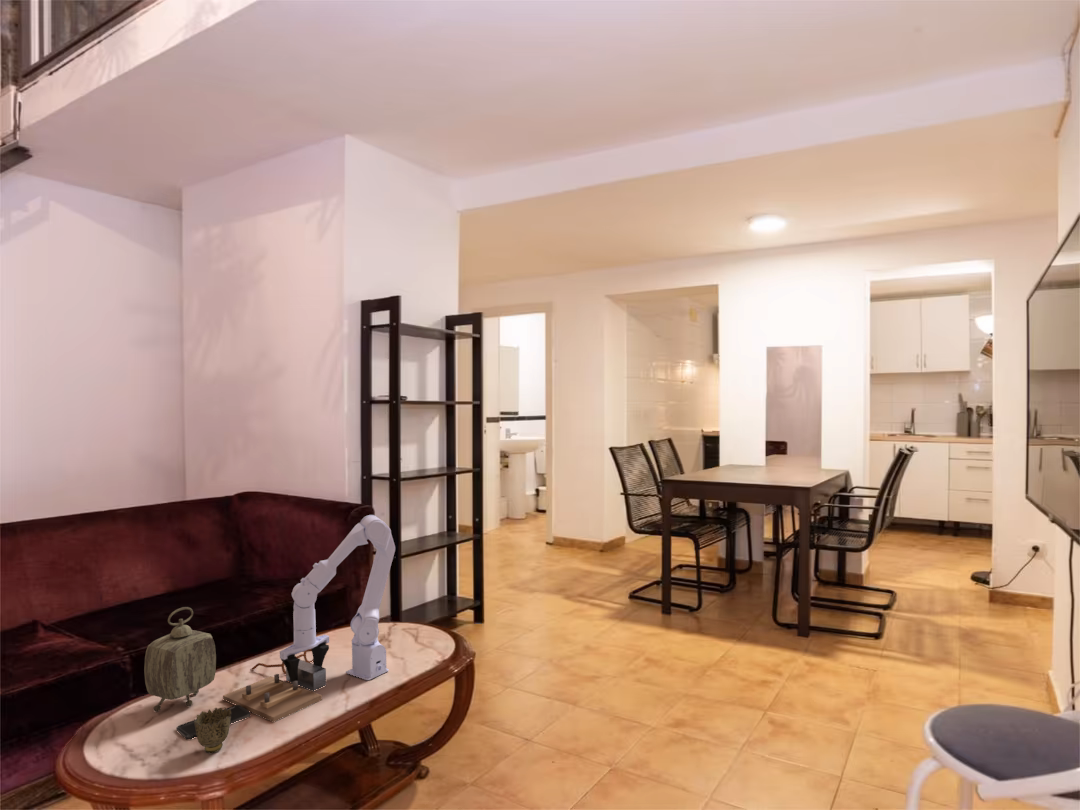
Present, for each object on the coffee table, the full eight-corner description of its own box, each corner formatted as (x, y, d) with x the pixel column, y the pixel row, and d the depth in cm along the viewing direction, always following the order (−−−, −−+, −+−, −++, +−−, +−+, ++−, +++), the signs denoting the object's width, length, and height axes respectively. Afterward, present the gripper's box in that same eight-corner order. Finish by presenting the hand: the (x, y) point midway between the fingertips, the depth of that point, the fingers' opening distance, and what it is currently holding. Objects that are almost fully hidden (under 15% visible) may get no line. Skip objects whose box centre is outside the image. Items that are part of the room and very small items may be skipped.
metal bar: (326, 686, 181) (325, 668, 181) (313, 692, 178) (313, 673, 178) (298, 676, 188) (298, 659, 188) (286, 682, 184) (285, 664, 184)
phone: (174, 726, 158) (238, 704, 169) (175, 731, 158) (238, 708, 169) (187, 737, 153) (252, 713, 164) (187, 742, 153) (252, 717, 164)
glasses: (284, 678, 187) (283, 660, 187) (250, 671, 193) (250, 653, 193) (317, 661, 199) (317, 644, 199) (285, 654, 205) (284, 638, 205)
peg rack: (321, 699, 173) (321, 683, 172) (273, 722, 161) (273, 705, 161) (271, 680, 185) (270, 665, 185) (223, 700, 173) (222, 684, 173)
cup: (203, 742, 152) (202, 707, 152) (236, 740, 153) (236, 706, 153) (189, 760, 145) (188, 723, 144) (224, 758, 145) (223, 721, 145)
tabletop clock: (197, 690, 179) (195, 598, 179) (220, 696, 176) (218, 602, 175) (145, 713, 166) (142, 614, 166) (168, 721, 163) (166, 619, 162)
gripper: (317, 617, 191) (318, 664, 191) (272, 632, 179) (273, 682, 179) (333, 621, 187) (334, 669, 187) (288, 637, 175) (289, 689, 175)
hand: (305, 676), depth 183 cm, fingers open, 7 cm apart
